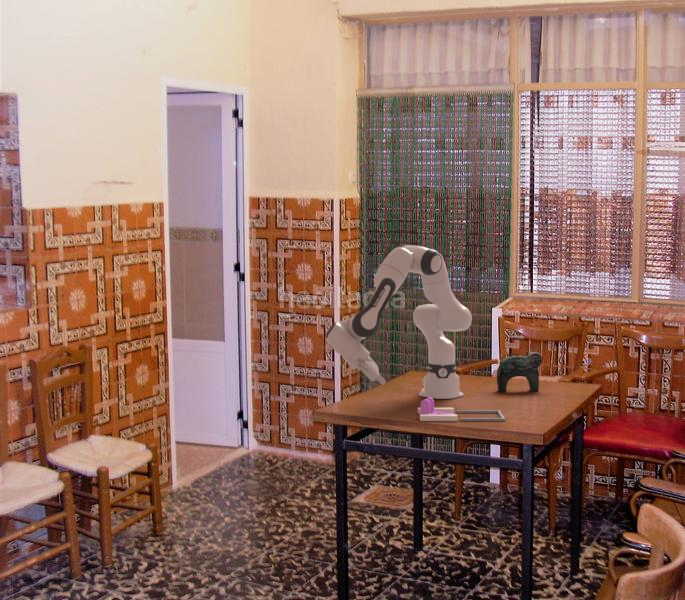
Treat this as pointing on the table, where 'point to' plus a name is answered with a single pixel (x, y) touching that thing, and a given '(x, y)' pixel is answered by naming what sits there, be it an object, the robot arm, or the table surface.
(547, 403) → the table surface
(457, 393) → the robot arm
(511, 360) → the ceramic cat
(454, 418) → the cream grey rectangular frame
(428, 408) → the bracket
